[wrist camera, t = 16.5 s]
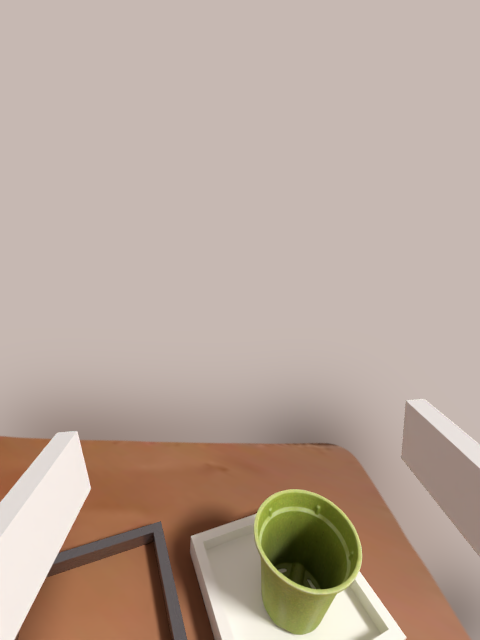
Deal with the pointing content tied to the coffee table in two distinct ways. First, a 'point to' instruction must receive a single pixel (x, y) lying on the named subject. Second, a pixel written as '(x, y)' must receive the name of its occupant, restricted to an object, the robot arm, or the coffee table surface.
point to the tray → (246, 597)
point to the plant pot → (304, 557)
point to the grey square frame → (125, 543)
